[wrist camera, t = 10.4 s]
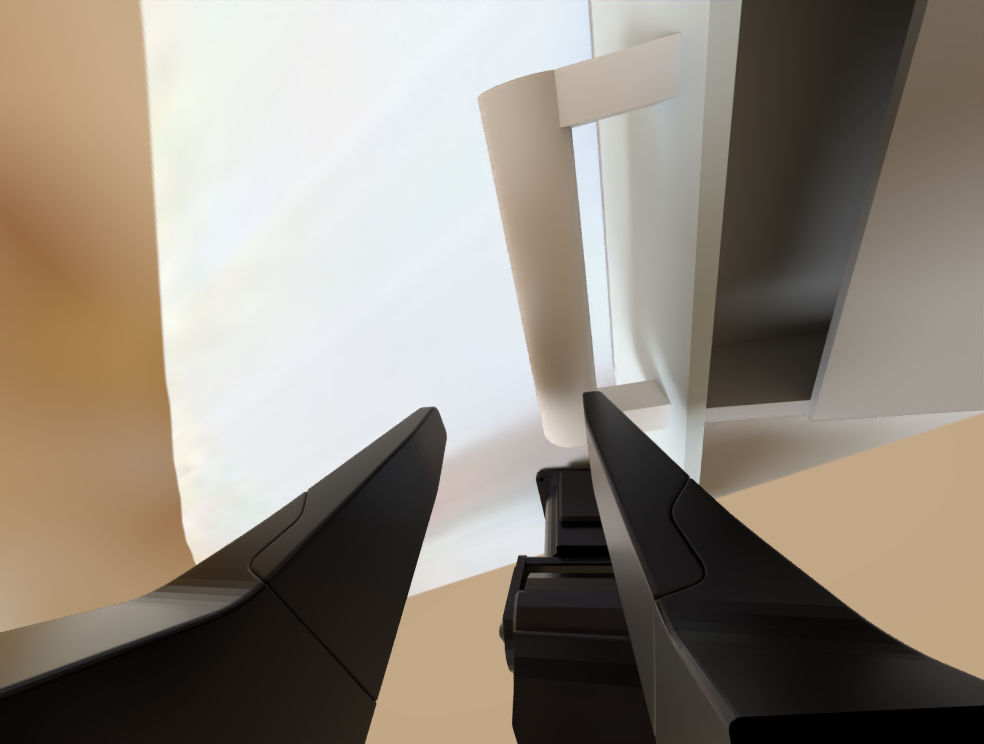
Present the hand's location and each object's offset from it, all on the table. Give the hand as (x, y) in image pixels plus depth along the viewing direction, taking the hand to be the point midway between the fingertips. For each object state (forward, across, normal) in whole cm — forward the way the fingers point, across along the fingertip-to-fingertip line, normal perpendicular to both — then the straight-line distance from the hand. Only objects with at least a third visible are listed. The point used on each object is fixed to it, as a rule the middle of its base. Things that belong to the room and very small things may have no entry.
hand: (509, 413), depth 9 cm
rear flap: (+3, -4, -2) cm, 6 cm away
